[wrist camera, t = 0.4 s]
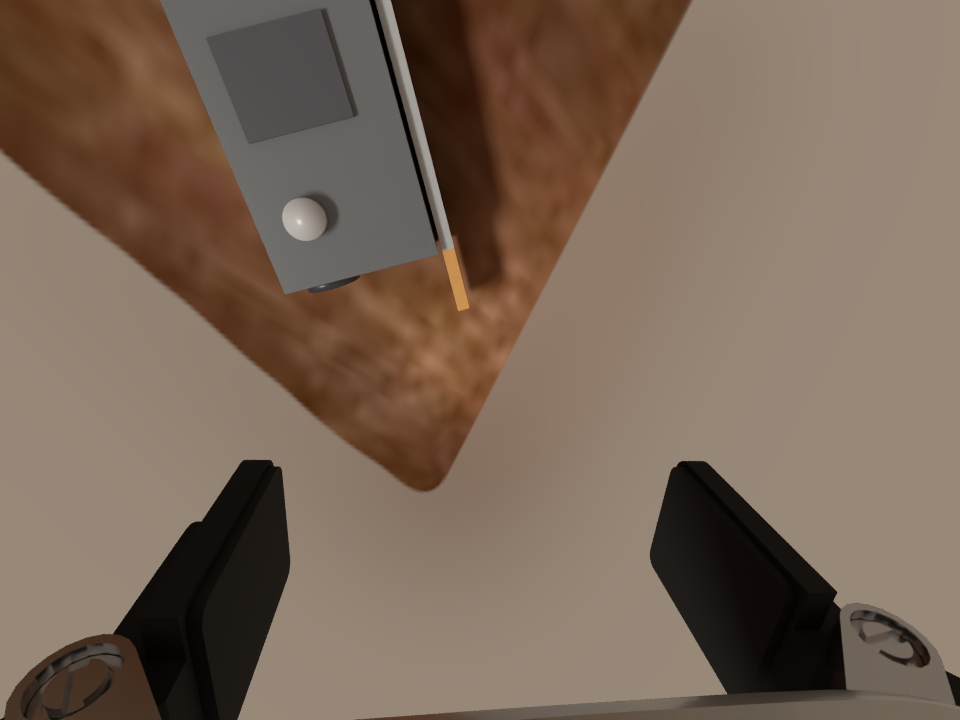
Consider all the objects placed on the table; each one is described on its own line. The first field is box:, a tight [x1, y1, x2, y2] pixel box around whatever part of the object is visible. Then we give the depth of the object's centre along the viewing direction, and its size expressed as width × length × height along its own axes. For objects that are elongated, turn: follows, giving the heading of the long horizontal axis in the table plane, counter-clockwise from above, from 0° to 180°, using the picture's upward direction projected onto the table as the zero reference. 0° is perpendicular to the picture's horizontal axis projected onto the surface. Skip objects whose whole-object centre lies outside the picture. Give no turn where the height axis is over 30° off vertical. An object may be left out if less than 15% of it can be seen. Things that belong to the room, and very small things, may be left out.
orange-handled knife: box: [375, 0, 469, 311], centre depth 29 cm, size 21×1×4 cm, turn 13°
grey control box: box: [160, 0, 438, 294], centre depth 28 cm, size 17×10×6 cm, turn 13°
